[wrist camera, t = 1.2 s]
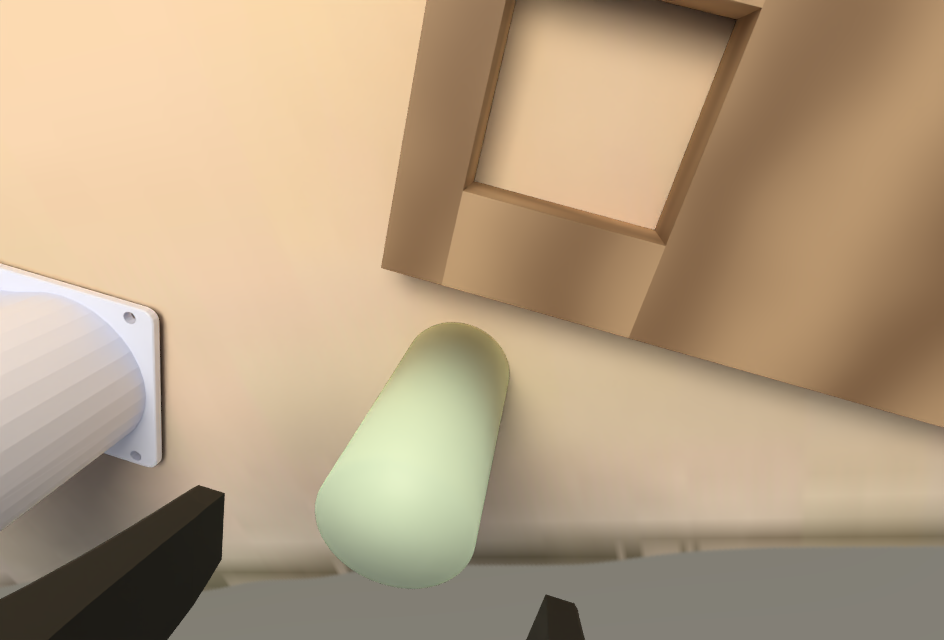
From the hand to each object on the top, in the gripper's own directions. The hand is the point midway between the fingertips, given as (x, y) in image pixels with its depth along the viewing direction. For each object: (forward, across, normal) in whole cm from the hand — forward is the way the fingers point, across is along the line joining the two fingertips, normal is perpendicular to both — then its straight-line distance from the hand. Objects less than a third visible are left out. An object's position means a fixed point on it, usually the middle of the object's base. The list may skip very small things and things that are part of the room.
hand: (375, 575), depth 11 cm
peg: (+9, 0, 0) cm, 9 cm away
